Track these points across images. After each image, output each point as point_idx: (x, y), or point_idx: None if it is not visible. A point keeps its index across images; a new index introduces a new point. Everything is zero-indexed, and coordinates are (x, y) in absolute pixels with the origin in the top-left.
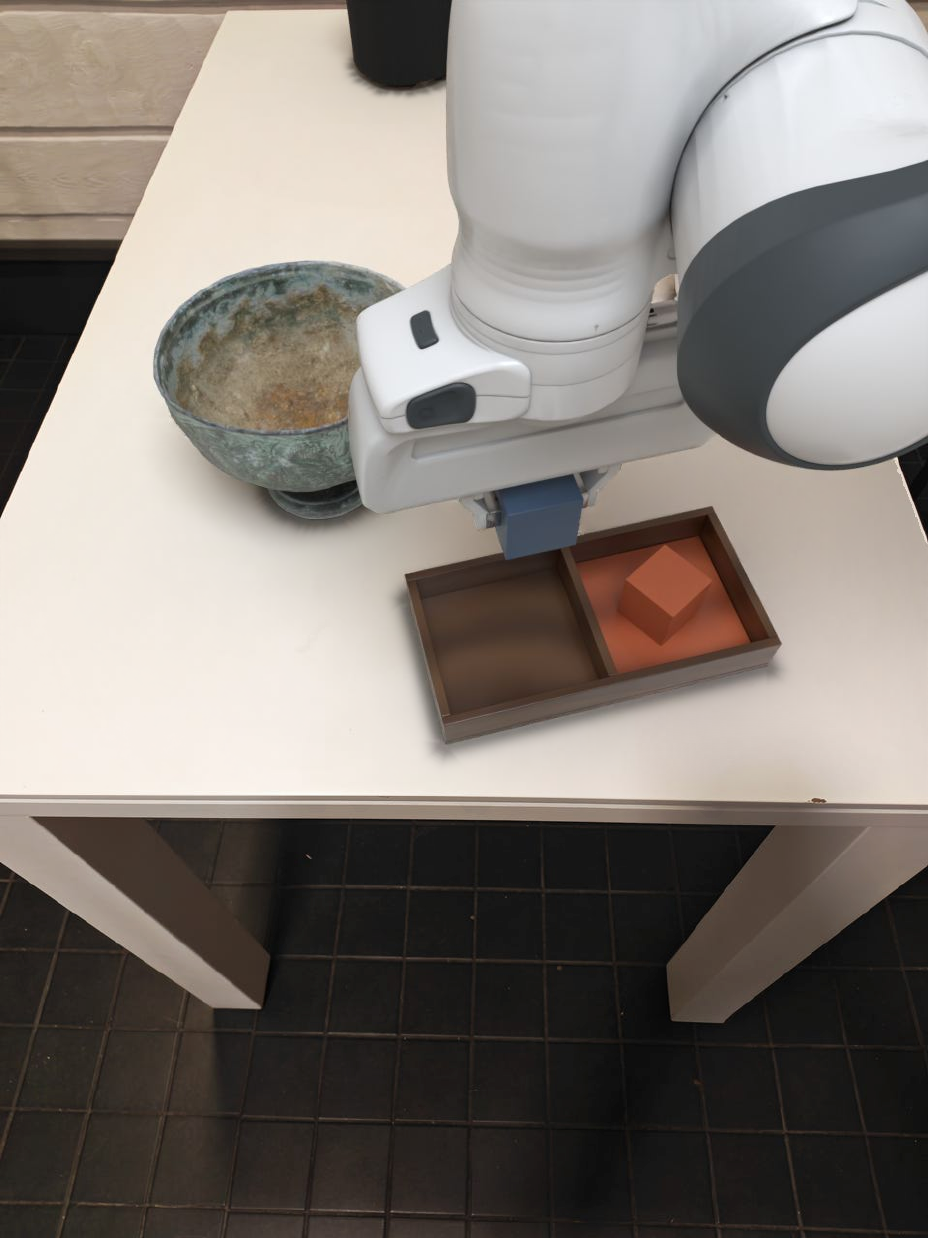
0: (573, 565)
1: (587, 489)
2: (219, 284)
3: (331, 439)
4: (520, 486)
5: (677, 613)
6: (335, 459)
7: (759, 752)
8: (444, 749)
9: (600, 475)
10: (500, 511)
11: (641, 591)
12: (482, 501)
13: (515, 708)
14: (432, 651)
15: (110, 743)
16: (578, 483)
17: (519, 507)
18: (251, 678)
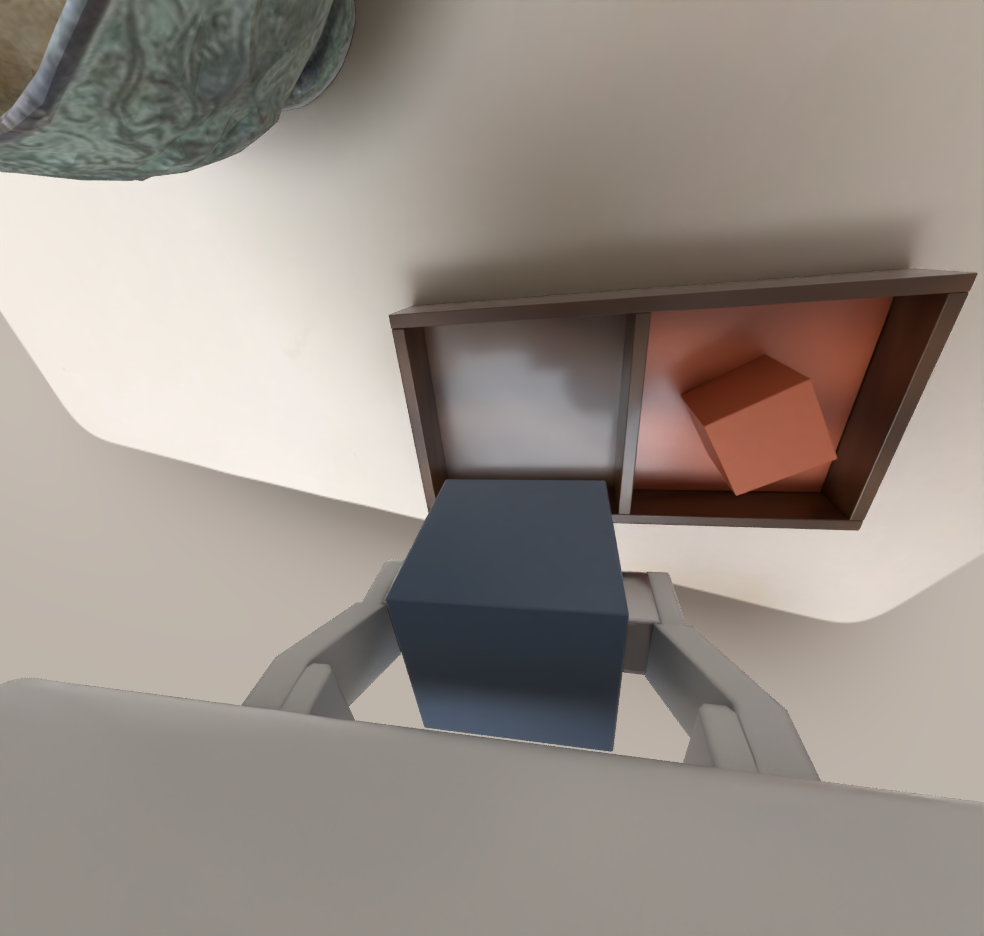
0: (642, 353)
1: (648, 675)
2: None
3: (58, 148)
4: (464, 689)
5: (746, 491)
6: (135, 165)
7: (741, 565)
8: None
9: (691, 731)
10: None
11: (715, 450)
12: (381, 649)
13: None
14: (422, 439)
15: (142, 416)
16: (634, 650)
17: (452, 725)
18: (247, 378)
